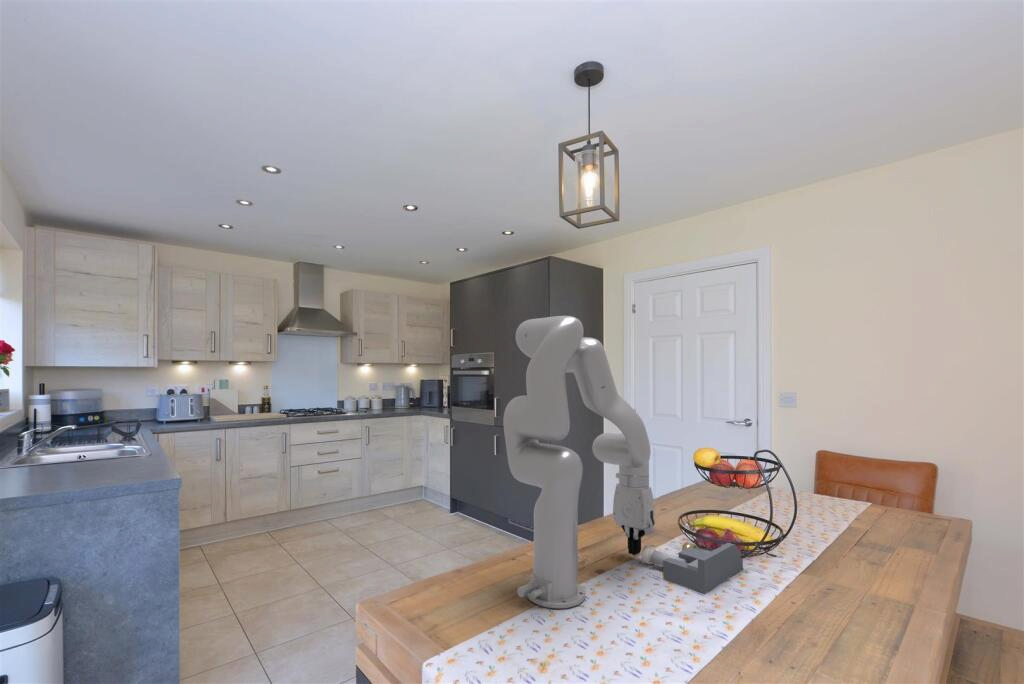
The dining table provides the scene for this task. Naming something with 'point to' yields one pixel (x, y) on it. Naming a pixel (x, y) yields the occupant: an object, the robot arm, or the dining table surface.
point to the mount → (703, 567)
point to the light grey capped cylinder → (655, 556)
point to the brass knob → (687, 545)
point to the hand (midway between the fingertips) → (634, 553)
